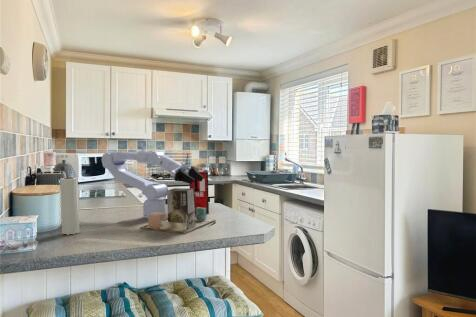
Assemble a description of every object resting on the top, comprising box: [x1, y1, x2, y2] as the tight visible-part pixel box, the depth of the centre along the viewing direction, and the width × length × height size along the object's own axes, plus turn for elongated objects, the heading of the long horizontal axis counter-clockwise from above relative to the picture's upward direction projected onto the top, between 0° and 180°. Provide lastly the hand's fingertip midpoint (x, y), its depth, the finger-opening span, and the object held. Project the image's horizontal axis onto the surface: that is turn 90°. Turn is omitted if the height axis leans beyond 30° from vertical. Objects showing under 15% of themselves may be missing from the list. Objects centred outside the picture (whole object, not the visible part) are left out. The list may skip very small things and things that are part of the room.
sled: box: [159, 207, 212, 232], centre depth 138 cm, size 12×21×6 cm, turn 154°
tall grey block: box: [59, 177, 80, 236], centre depth 131 cm, size 7×6×21 cm
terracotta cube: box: [147, 212, 167, 228], centre depth 136 cm, size 5×5×5 cm
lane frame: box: [139, 217, 216, 235], centre depth 139 cm, size 21×22×6 cm
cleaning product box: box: [188, 169, 210, 215], centre depth 172 cm, size 16×9×20 cm, turn 6°
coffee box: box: [166, 187, 196, 230], centre depth 133 cm, size 9×6×16 cm
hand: (197, 180), depth 144 cm, fingers open, 7 cm apart
